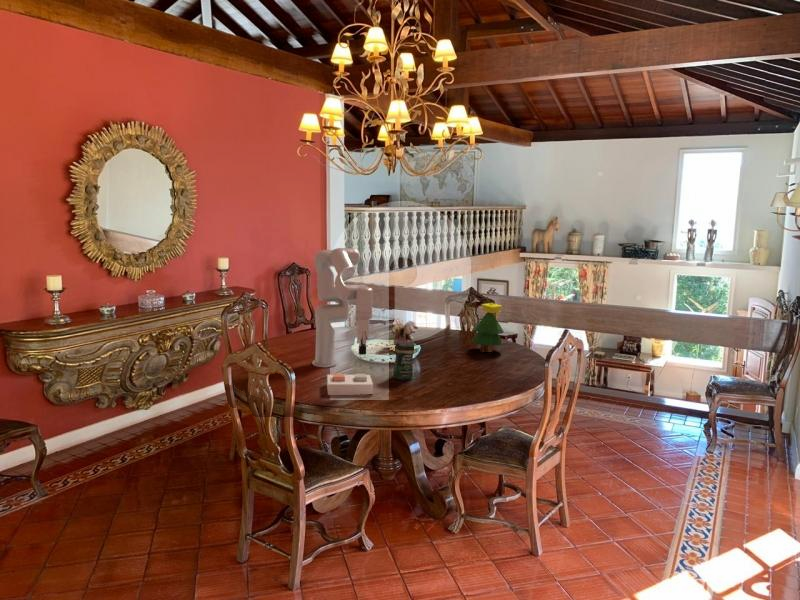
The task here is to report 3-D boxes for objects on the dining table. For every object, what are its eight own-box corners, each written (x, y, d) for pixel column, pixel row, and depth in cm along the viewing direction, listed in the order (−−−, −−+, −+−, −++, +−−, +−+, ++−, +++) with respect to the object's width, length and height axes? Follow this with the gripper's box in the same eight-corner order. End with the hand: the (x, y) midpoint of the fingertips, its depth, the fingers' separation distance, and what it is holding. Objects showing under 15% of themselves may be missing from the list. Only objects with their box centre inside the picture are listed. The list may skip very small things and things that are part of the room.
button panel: (326, 384, 278) (327, 374, 278) (369, 384, 282) (369, 374, 281) (328, 395, 265) (328, 384, 264) (372, 395, 268) (373, 384, 267)
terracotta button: (332, 380, 274) (333, 373, 273) (343, 380, 275) (344, 373, 274) (333, 384, 269) (333, 376, 268) (344, 384, 270) (344, 376, 269)
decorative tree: (463, 349, 356) (467, 300, 351) (486, 345, 368) (490, 298, 362) (486, 357, 341) (490, 306, 336) (509, 353, 353) (514, 304, 347)
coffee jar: (395, 380, 290) (397, 343, 287) (391, 375, 298) (393, 339, 294) (414, 380, 293) (416, 343, 290) (409, 375, 301) (412, 339, 297)
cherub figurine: (420, 346, 358) (422, 317, 354) (417, 354, 340) (419, 323, 337) (391, 343, 360) (392, 315, 357) (386, 351, 342) (388, 321, 339)
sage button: (354, 380, 275) (354, 373, 275) (365, 380, 276) (365, 373, 276) (355, 384, 271) (355, 377, 270) (366, 384, 271) (366, 377, 271)
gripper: (354, 311, 274) (352, 350, 277) (356, 317, 260) (355, 358, 263) (370, 311, 275) (368, 350, 279) (374, 318, 261) (372, 358, 264)
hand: (362, 354), depth 271 cm, fingers closed
